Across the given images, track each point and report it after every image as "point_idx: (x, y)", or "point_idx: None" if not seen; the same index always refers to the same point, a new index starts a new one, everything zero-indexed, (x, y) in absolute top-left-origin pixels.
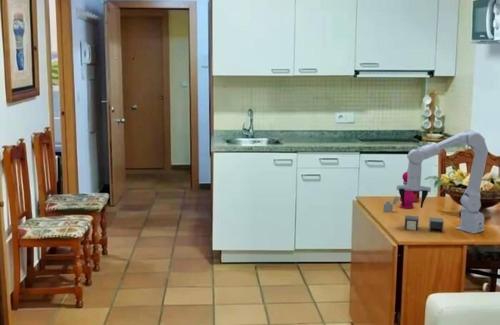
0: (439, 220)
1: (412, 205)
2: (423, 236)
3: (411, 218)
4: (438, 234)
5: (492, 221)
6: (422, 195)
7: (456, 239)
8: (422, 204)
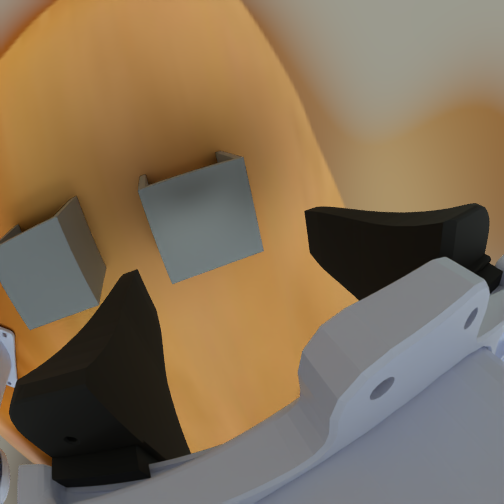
0: (14, 266)
1: None
2: (79, 74)
3: (197, 188)
4: (19, 176)
5: (21, 449)
6: (93, 356)
7: None
8: (114, 288)
